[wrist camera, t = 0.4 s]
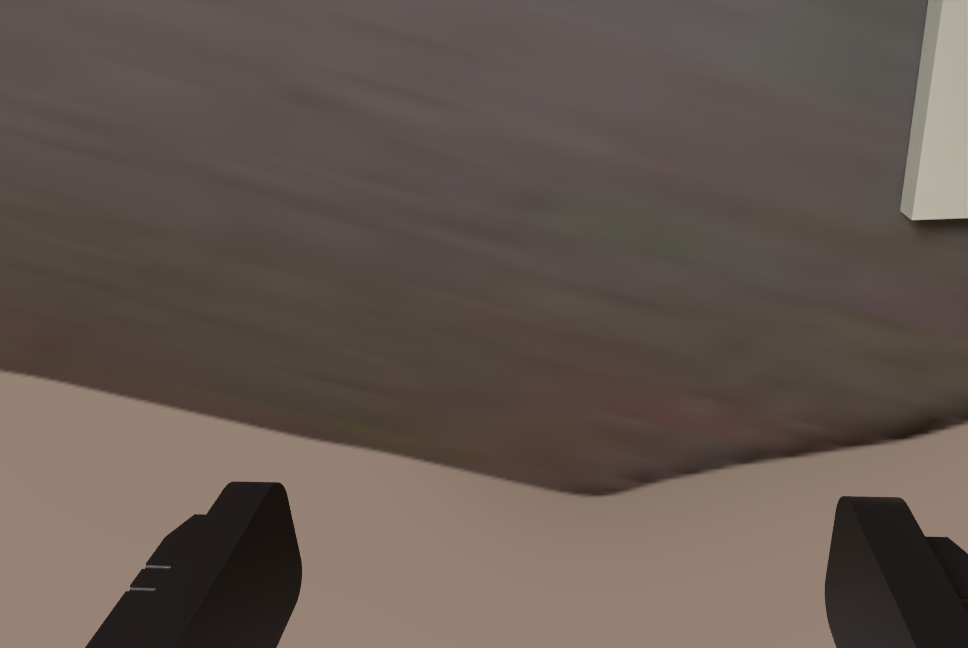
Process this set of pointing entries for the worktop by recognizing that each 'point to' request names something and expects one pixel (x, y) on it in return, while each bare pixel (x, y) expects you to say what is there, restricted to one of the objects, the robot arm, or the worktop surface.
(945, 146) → the plate
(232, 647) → the robot arm
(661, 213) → the worktop surface
